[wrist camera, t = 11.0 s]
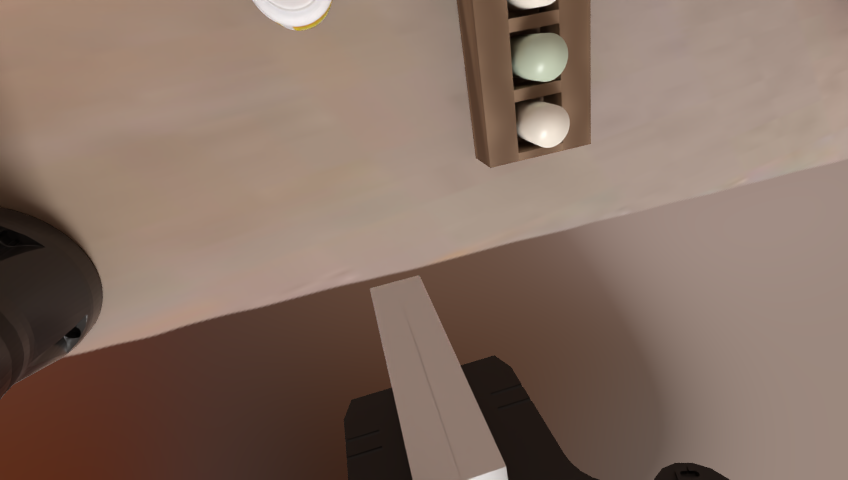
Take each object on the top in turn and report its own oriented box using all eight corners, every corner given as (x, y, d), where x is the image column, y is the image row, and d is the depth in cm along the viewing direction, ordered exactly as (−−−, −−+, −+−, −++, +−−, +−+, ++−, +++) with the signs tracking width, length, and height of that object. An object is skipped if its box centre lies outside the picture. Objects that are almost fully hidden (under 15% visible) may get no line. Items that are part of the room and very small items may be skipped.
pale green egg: (502, 81, 40) (527, 85, 35) (499, 38, 38) (524, 37, 33) (539, 73, 40) (568, 77, 35) (536, 31, 39) (567, 28, 34)
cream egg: (507, 140, 42) (532, 151, 37) (504, 102, 41) (529, 109, 36) (542, 132, 43) (570, 142, 38) (540, 94, 41) (569, 100, 36)
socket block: (475, 157, 43) (490, 167, 39) (451, -43, 35) (466, -53, 32) (568, 136, 44) (590, 143, 41) (563, -62, 37) (590, -74, 33)
